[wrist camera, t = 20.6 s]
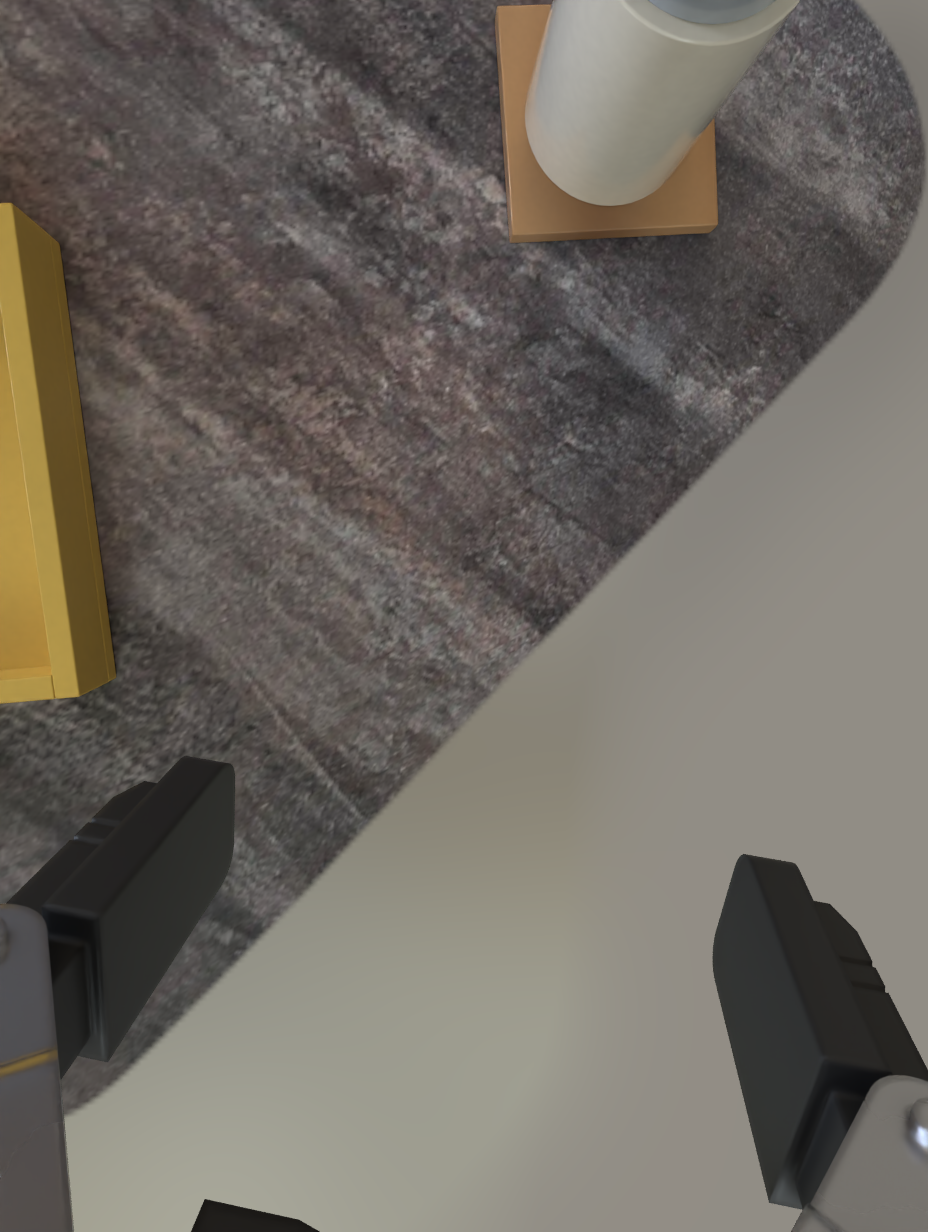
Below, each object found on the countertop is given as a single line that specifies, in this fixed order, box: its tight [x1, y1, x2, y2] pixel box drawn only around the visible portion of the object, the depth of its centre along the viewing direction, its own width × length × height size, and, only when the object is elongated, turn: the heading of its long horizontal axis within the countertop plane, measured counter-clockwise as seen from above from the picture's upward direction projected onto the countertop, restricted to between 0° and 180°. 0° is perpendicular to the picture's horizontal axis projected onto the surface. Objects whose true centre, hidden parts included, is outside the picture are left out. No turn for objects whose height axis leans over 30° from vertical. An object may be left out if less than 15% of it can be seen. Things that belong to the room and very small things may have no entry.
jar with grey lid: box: [525, 0, 801, 206], centre depth 22 cm, size 6×6×10 cm
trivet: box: [495, 4, 718, 243], centre depth 27 cm, size 8×8×1 cm
